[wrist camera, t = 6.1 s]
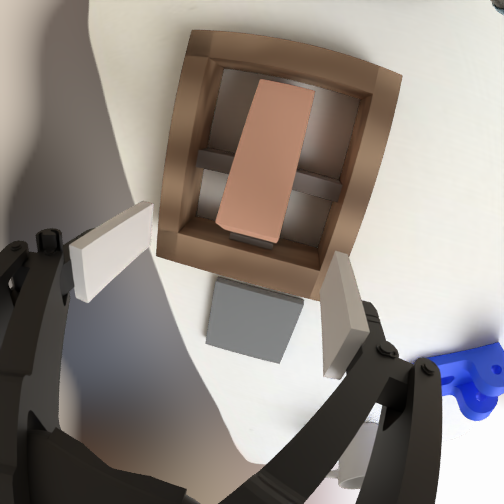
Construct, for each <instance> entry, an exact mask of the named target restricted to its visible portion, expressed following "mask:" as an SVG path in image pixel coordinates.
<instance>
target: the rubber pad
mask: <svg viewBox="0 0 504 504" xmlns="http://www.w3.org/2000/svg"><path fill="white" fill-rule="evenodd" d="M303 305H304V300H302V299H298V298H294V297H290V296H287V295H283V294H279V293H275V292H271V291H268V290H264V289H260V288H256V287H253V286H249V285H245V284H242V283H238V282H235V281H231V280H227V279H224V278H220V277H218V278H217V280H216V283H215V288H214V294H213V300H212V306H211V312H210V318H209V324H208V331H207V337H206V343H205V344H208V345H212V346H215V347H218V348H222V349H225V350H229V351H232V352H236V353H239V354H243V355H247V356H250V357H254V358H258V359H262V360H266V361H270V362H274V363H278V364H280V361H281V359H282V357H283V354H284V352H285V350H286V347H287V345H288V343H289V340H290V338H291V335H292V333H293V330H294V328H295V325H296V323H297V321H298V318H299V315H300V313H301V310H302V308H303Z"/></svg>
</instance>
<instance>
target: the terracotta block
mask: <svg viewBox="0 0 504 504" xmlns="http://www.w3.org/2000/svg"><path fill="white" fill-rule="evenodd" d="M314 94H315V91H313V90H309V89H305V88H301V87H297V86H293V85H289V84H284V83H279V82H274V81H269V80H264V79H260V81H259V84H258V87H257V89H256V92H255V95H254V98H253V101H252V104H251V107H250V110H249V113H248V116H247V119H246V122H245V125H244V128H243V132H242V135H241V138H240V141H239V144H238V147H237V150H236V154H235V157H234V160H233V163H232V167H231V170H230V173H229V177H228V180H227V183H226V187H225V190H224V193H223V197H222V200H221V204H220V207H219V211H218V214H217V218H216V221H215V223H217V224H218V225H219V226H221V227H222V228H223V229H225V230H228V231H232V232H236V233H240V234H243V235H247V236H251V237H255V238H259V239H262V240H266V241H270V242H274V243H277V241H278V240H279V236H280V232H281V229H282V225H283V221H284V217H285V213H286V209H287V205H288V202H289V198H290V194H291V190H292V186H293V182H294V178H295V174H296V170H297V166H298V162H299V158H300V153H301V149H302V145H303V141H304V137H305V133H306V128H307V124H308V120H309V116H310V111H311V107H312V103H313V99H314Z"/></svg>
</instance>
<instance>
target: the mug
mask: <svg viewBox="0 0 504 504" xmlns="http://www.w3.org/2000/svg"><path fill="white" fill-rule="evenodd" d="M377 429H378V424H376V423H363V424H362V426H361V427H360V429H359V431H358V432H357V434H356V435H355V437H354V438H353V440H352V441H351V443H350V444H349V446H348V447H347V449H346V450H345V452H344V453H343V454H342V456H341V457H340V459H339V468H338V469H337V470H333V471H330V472H329V473H328V475H327V476H326V478H337V479H338V484H339V486H340V487H341V488H344V489H361V486H362V483H363V480H364V477H365V474H366V471H367V467H368V464H369V460H370V457H371V453H372V449H373V445H374V441H375V437H376V433H377Z"/></svg>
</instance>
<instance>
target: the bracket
mask: <svg viewBox="0 0 504 504" xmlns="http://www.w3.org/2000/svg"><path fill="white" fill-rule="evenodd" d="M427 359H429V360H431V361H433V362H434V363H435V364H436V365H437V366H438V368H439V369H440V373H441V385H442V396H445V395H453V396H455V397H456V399H457V402H458V405H459V408H460V410H461V412H462V414H463V415H464V416H465V417H466V418H468V419H470V420H473V421H480V420H483V419H485V418H487V417H488V416H489V414H490V413H491V412H492V410H493V409H494V408H495V406H496V404H497V401H498V396H499V395H501V394H503V393H504V350H503V348H502V347H501V345H500V343H499V342H497V343H494V344H490V345H486V346H482V347H478V348H473V349H469V350H464V351H460V352H455V353H450V354H445V355H439V356H434V357H428V358H427ZM413 364H414V363H413ZM477 399H478V400H477ZM479 400H480V401H479Z"/></svg>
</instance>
